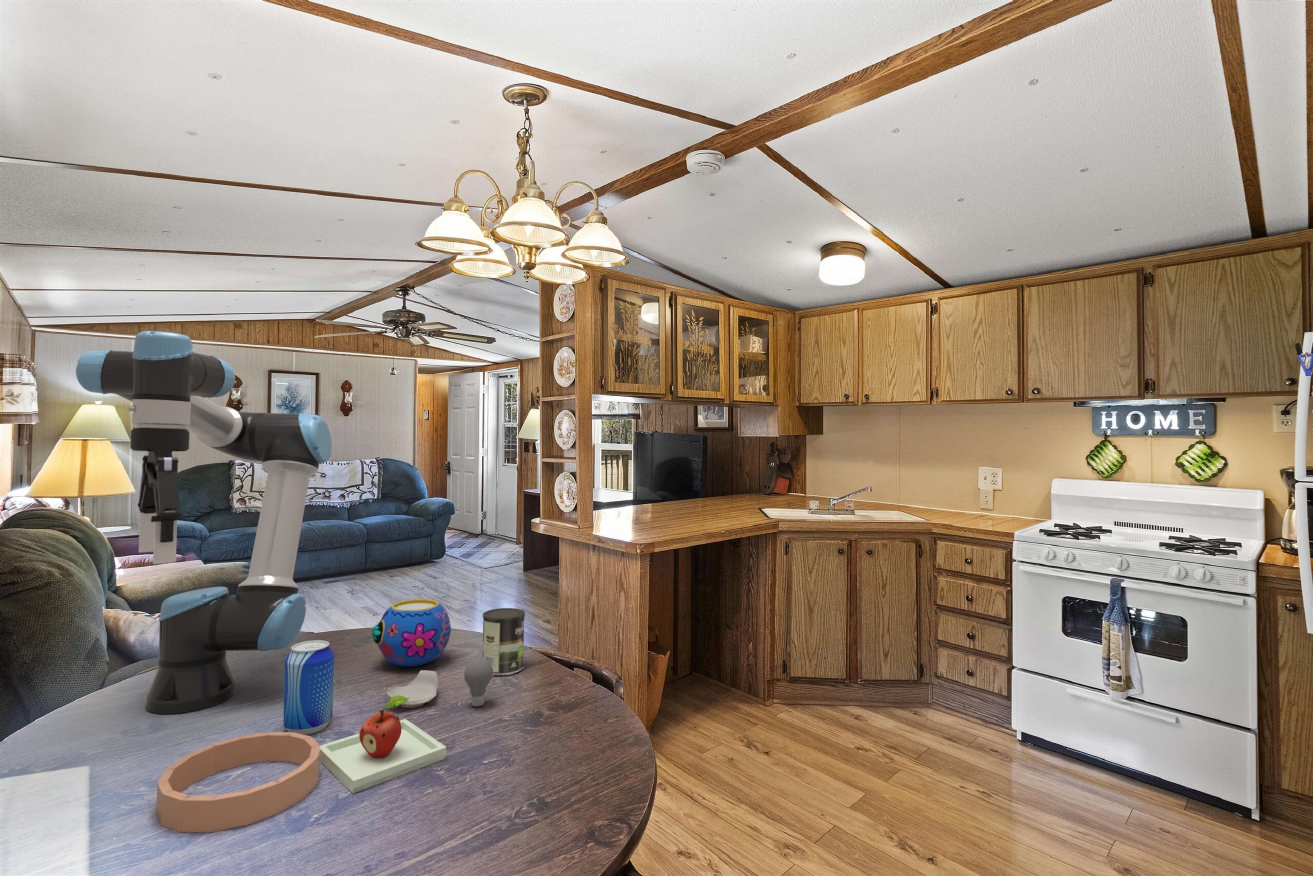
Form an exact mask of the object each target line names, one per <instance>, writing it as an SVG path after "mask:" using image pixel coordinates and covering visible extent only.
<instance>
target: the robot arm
mask: <svg viewBox="0 0 1313 876" xmlns="http://www.w3.org/2000/svg"><path fill="white" fill-rule="evenodd" d="M75 374H76V376H75V377H76V380H77V381H78V383H79V385H80V387H82V388H83V389H84V390H85V391H88V392H91V393H93V394H94V393H96V394H97V393H98V394H102V395H107V394H112V395H118V396H119V397H121V398H124V399H126V400H127V401H130V402H132V404H129V405H127V406H126V410H127V411H128V412H132V413H131V423H132V424H133V425H136V427H133V428H132V429H130V446H129V447H130V450H132V451H134V452H148V454H147V455H143V456H142V458H141V459H142V466H141V470H142V471H141V479H140V489H139V495H138V497H139V498H138V503H137V507H138V510H139V512H140V513H139V530H138V534H139V537H138V553H151V552H153V553H152V554H153V555H152V556H153V557H152V558H153V559H152V564H153V565H162V564H171V563H177V539H178V536H177V534H178V519H180V518H181V515H182V511H181V503H180V502H181V501H180V487H179V474H178V473H179V472H178V471H179V470H178V469H179V467H178V466H179V459H178V457H173V452H187V451H188V450H189V449H190V432H191V433H193V434H194V435H196V437H197V439H198V440H199V442H201V443H202V444H204V445H206V446H208V447H210V448H212V449H213V450H216V451H219V452H221V453H223V454H226V455H228V456H232V457H235V458H238V459H241V460H245V461H250V462H251V461H252V462H261V467H262V468H263V469H264V471H265V472H266V473H267V476H266V483H265V485H264V492H263V496H262V502H261V508H260V512H259V519H258V523H257V528H256V534H255V538H254V543H253V550H252V554H251V559H250V565H249V570H248V575H247V577H246V579H245V580H243V581H241V583H239V584H238V585H237V590H236V594H229V592H230V591H229V588H228V587H226V586H213V587H205V588H199V589H194V590H193V589H192V590H189V591H186V592H184V591H183V592H181V593H177V594H174V595H172V596H169V597H168V598H166V599H165V600H163V602H162V604H161V607H160V613H159V619H158V622H159V630H158V631H159V632H158V636H159V638H158V639H159V640H158V668H157V671H156V674H155V676H154V678H153V681H152V683H151V685H150V688H149V690H148V693H147V695H146V705H145V708H146V710H147V711H148V712H151V713H154V714H167V715H169V714H181V713H187V712H193V711H198V710H202V709H206V708H210V707H212V706H216V705H218V704H220V703H222V702H224V701H226V700H227V701H228V699H230V698H231V697H232V696H233V695H234V693H235V679H234V677H233V674H232V672H231V668H230V666H229V663H228V661H227V659H226V657H227V655H226V653H227V652H228V651H229V652H235V651H239V652H240V651H241V652H243V651H260V652H266V651H272V650H273V651H274V650H275V651H276V650H282V649H285V648H287V647H288V646H290V645H291V644H292V643H293V642H294V641H295V639H296V638H297V637H298V635H299V633H300V632H301V629H302V627H303V625H304V621H305V618H306V614H307V607H306V604H307V602H306V598H305V597H304V595H302V594H300V593H299V587H300V586H299V585H298V584H297V583H296V582H295V581H294V578H293V577H294V573H295V572H294V571H295V566H296V560H297V555H298V548H299V544H300V543H299V541H300V538H301V537H300V536H301V532H302V525H303V524H302V523H303V520H304V518H303V517H304V512H305V509H306V508H305V507H306V501H307V496H308V488H309V483H310V478H312V477H313V476H314V475H315V474H317V473H318V471H319V467H320V464H325V463H327V462H328V461H329V459H330V458H331V455H332V447H333V446H332V443H333V442H332V436H331V432H330V429H329V426H328V424H327V422H326V421H325V419H324V418H323V417H321V416H319V415H317V414H309V413H308V414H307V413H302V412H300V413H286V412H285V413H284V412H283V413H280V412H279V413H278V412H249V411H247V412H246V411H239V410H236V409H234V408H232V407H230V406H222V405H219V404H217V403H216V402H214V401H212V400H210V399H211V398H220V397H223V396H225V395H227V394H228V393H230V391H231V390H232V389H233V387H234V385H235V381H236V375H235V372H234V368H233V367H232V366H231V365H230V364H229V363H228V362H227V361H225V360H223V359H221V358H218V357H217V356H214V355H206V354H203V353H202V354H201V353H198V352H194V347H193V340H191V337H189V336H188V335H186V334H180V333H175V332H169V331H155V330H153V331H152V330H151V331H150V330H147V331H140V332H138V333H137V334H136V335H135V338H134V345H133V351H124V350H113V349H107V350H90V351H87V352H85V353H84V354H81V356H80V357H79V358H78V360H77V364H76V368H75Z"/></svg>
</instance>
